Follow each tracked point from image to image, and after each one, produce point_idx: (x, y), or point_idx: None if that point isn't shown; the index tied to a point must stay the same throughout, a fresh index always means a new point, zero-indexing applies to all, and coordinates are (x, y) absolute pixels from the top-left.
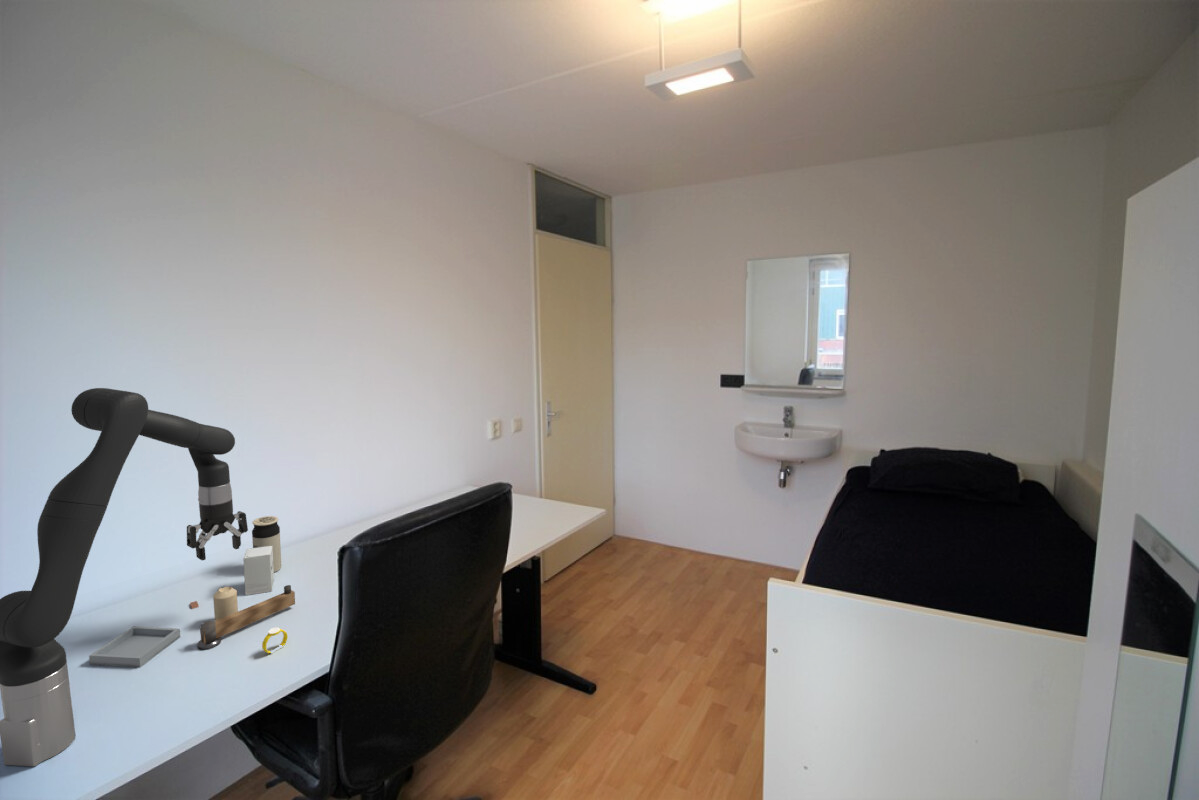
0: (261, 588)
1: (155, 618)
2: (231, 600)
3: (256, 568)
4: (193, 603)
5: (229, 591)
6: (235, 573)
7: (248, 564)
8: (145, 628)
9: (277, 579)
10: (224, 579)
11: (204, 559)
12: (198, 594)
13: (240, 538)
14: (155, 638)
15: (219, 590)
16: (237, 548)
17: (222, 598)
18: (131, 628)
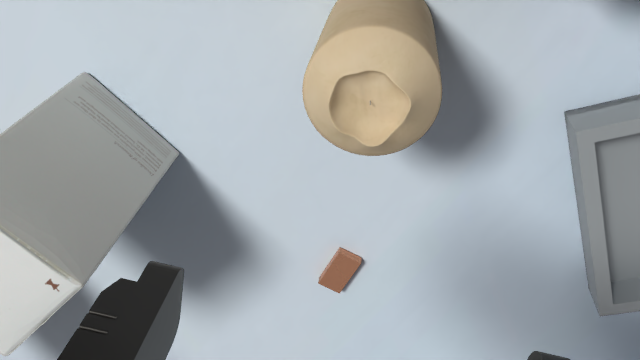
0: (112, 112)
1: (467, 314)
2: (382, 17)
3: (66, 189)
4: (337, 278)
5: (366, 65)
6: None
7: (84, 238)
8: (607, 263)
9: None
10: None
11: (549, 355)
12: (272, 319)
13: (60, 358)
14: (615, 188)
15: (386, 134)
16: (170, 267)
17: (427, 54)
18: (618, 308)
